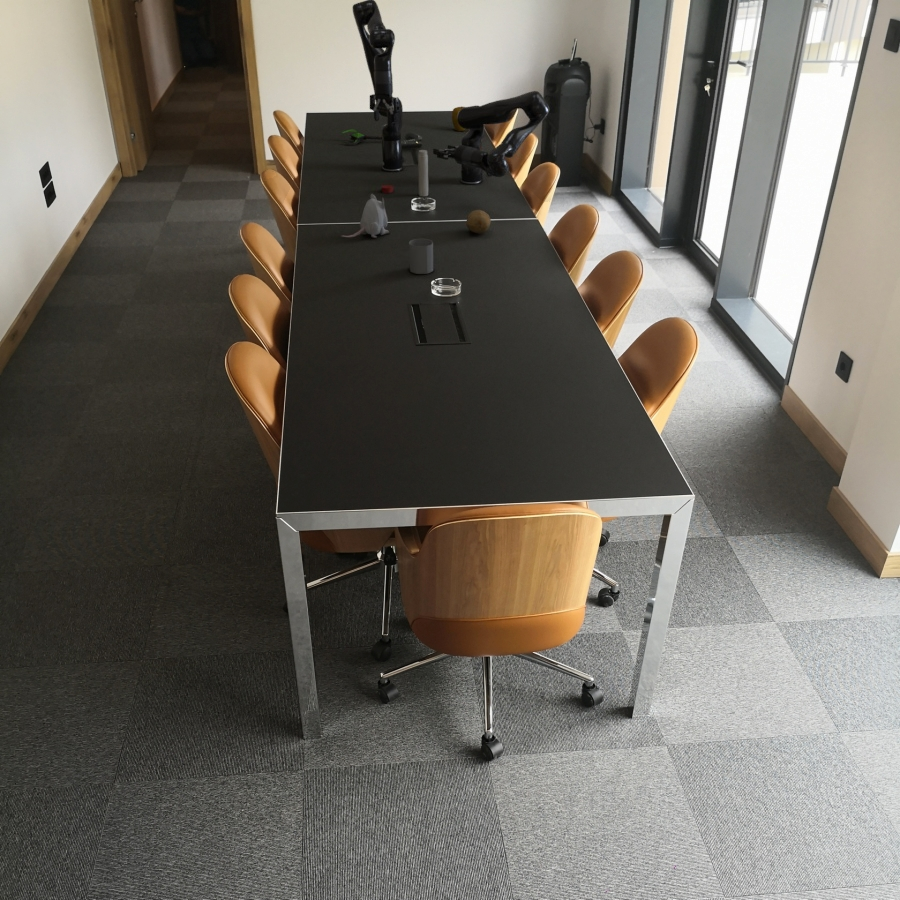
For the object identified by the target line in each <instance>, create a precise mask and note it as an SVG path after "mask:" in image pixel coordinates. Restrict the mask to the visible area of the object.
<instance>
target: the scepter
mask: <svg viewBox="0 0 900 900" xmlns="http://www.w3.org/2000/svg"><path fill="white" fill-rule="evenodd" d="M348 132H352V133H351V134H349V136H350V138H349V140H350V141H353V142H349V141H345V140H342V139H340V142H342V143H344V144H345V145H351V146H356V145H358V144H359V143H361V142H364V141H367V140H379V141H380V140H381V141H382V136H380V135H379V136H376V135H375V136H374V135H366V134H365V133H363V132H359V130H357V129H346V130H344V131H342V132H341V134H344V133H348ZM353 132H354V133H353Z"/></svg>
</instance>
